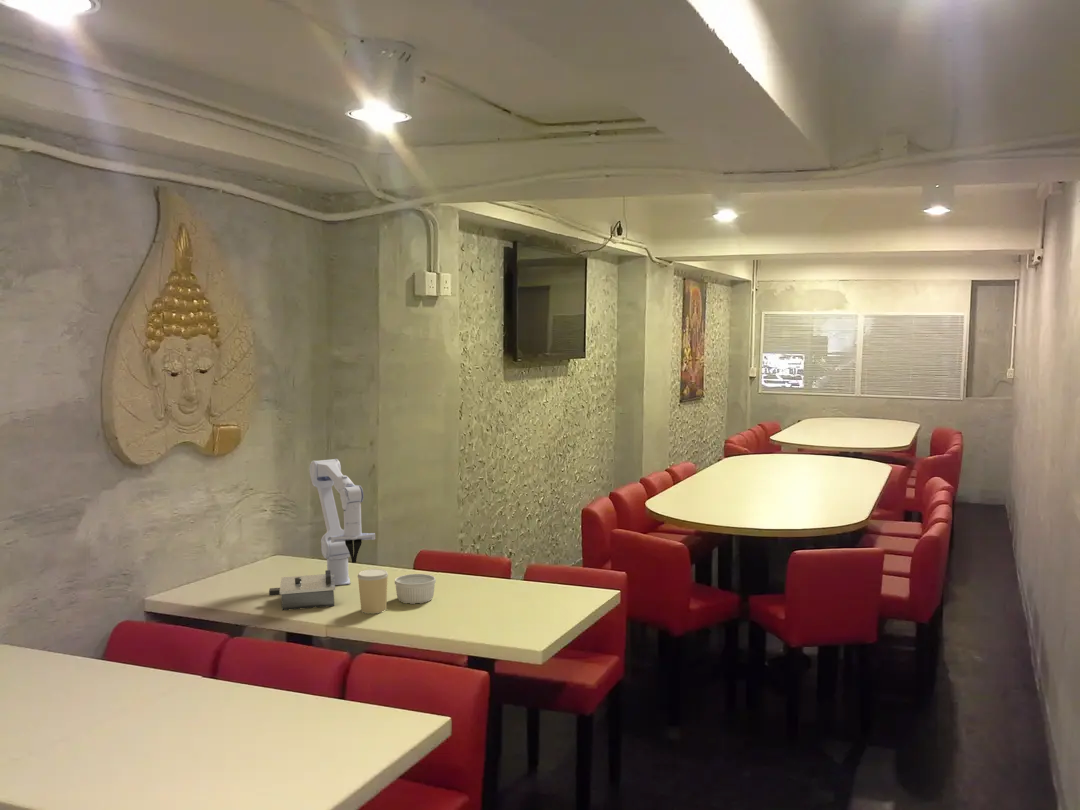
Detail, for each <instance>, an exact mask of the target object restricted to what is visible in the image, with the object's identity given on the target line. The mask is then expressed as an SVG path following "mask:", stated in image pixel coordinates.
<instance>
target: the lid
mask: <svg viewBox="0 0 1080 810" xmlns="http://www.w3.org/2000/svg"><path fill="white" fill-rule="evenodd" d="M279 588H280V594H292V593H305V592H317V591H330V590H334V591H336V585H335V580H334V574H331V573H330V570H327V569H326V570H325V573H323V574H309V575H298V576H296V575H295V576H287V577H286V576H283V577H281V578H280V586H279Z"/></svg>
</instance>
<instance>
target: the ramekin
mask: <svg viewBox="0 0 1080 810" xmlns="http://www.w3.org/2000/svg"><path fill="white" fill-rule="evenodd" d="M436 581H437V579H436V577H435V576H433V575H431V574H426V573H408V574H404V575H400V576H397V577H396V578H394V585H395V591H396V598H397V599H398V601H399V602H400V601H401V602H400V603H402V602H404V603H403V604H407V603H410V604H409V605H416V604H415V603H420V604H424V603H423V602H425V603H428V602H430V601H431V600H432V599H433V597H434V592H435V584H436ZM427 601H428V602H427Z"/></svg>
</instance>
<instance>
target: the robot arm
mask: <svg viewBox="0 0 1080 810" xmlns="http://www.w3.org/2000/svg"><path fill="white" fill-rule="evenodd" d="M309 477H310V481H311V483H312V486H314V487H315V488H316V489H317V493H318V496H319V501H320V505H321V510H322V511H321V512H322V517H323V519H324V523H325V528H326V532H325V533H324V534H323V535H322V537H321V539H320V544H321V546H320V547H321V555H322V556H323V558H324V559H326V570H330V573H331V574H334V580H335V586H343V585H351V581H350V575H349V558H350V560H351V564H354V563H357V559H358V554H359V550H360V548H361V546H362V543H363V542H362V541H370V540H372V541H374V540H376V532H370V533H368V532H362V531H363V529H362V527H363V526H362V504H361V503H363V501H364V489H363V487H362V485H360V484H359V485H358V484H354V482H353V480H352V479H350V477H349V476H348V475H346V474H345V475H344V474H343V473H342V466H341V461H339V459H338V458H334V459H332V458H331V459H321V460H311V462H310V464H309ZM333 487H334V489H335V490H336V491H337V492H338V494H339V498H340V502H341V508H342V510H343V528H342V527H341V523H340V518H339V514H338V509H337V505H336V501H335V496H334V491H333Z"/></svg>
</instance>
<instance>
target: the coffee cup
mask: <svg viewBox="0 0 1080 810" xmlns="http://www.w3.org/2000/svg"><path fill="white" fill-rule="evenodd" d="M388 577H389V573H388V571H387V570H385V569H382V568H381V569H380V568H371V569H365V570H362V571H359V573H358V575H357V579H358V591H359V602H360V609H361V610H360V611H361V613H363V612H365V613H364V614H366V613H377V614H379V613H378V612H381V613H383V612H382V611H384V610H385V611H386V610H387V600H388ZM385 611H384V612H385Z"/></svg>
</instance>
